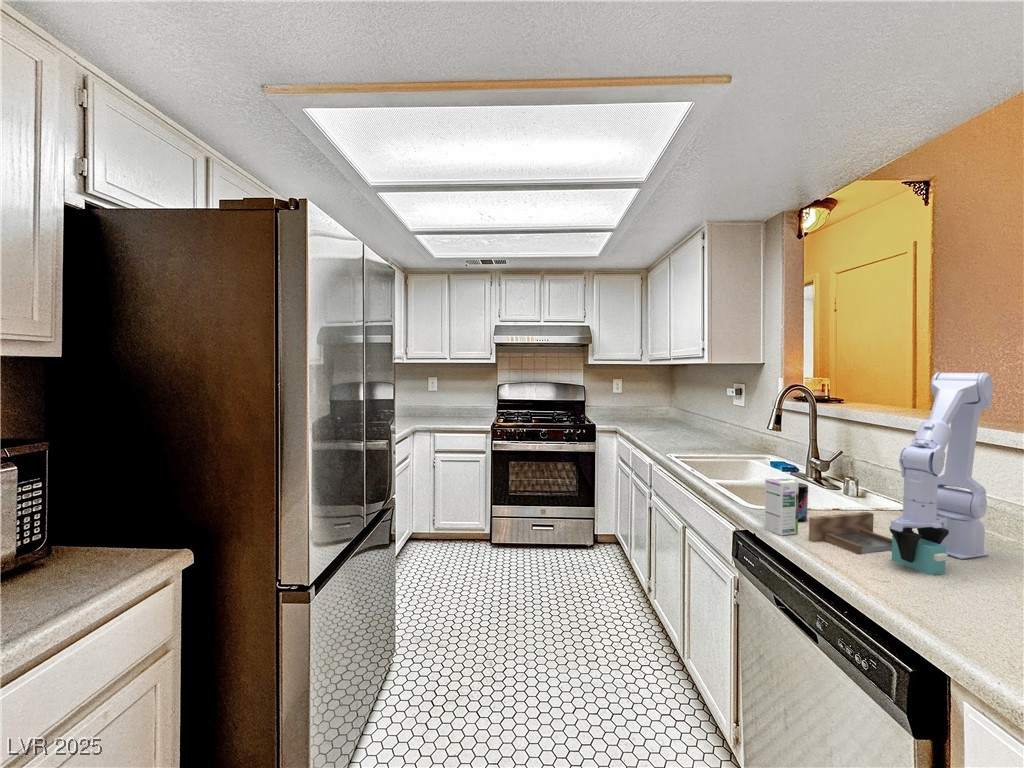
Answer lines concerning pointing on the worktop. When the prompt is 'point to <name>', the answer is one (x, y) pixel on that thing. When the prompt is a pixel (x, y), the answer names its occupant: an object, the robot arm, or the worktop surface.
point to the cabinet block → (923, 557)
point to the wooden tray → (843, 529)
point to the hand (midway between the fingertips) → (917, 559)
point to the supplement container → (802, 502)
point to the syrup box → (781, 506)
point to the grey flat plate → (867, 542)
